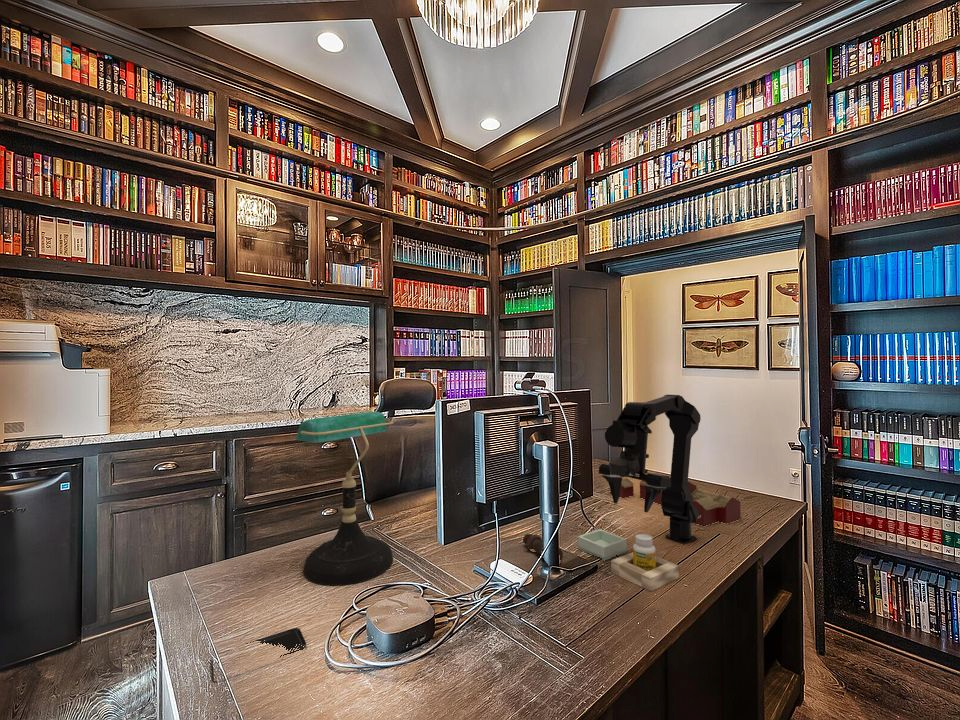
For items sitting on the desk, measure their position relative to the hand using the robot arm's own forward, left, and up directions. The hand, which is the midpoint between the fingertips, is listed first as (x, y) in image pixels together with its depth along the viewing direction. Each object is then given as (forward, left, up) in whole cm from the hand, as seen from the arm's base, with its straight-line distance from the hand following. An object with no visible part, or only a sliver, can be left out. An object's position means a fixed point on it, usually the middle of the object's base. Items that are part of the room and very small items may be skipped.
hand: (630, 507), depth 116 cm
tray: (0, -10, -15) cm, 18 cm away
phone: (+87, -16, -15) cm, 90 cm away
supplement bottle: (+3, +6, -15) cm, 16 cm away
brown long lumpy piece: (+16, -18, -15) cm, 28 cm away
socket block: (+3, +6, -15) cm, 16 cm away
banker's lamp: (+62, -43, -15) cm, 77 cm away
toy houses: (-51, -22, -15) cm, 57 cm away
